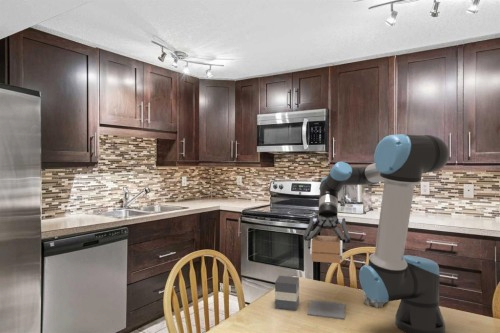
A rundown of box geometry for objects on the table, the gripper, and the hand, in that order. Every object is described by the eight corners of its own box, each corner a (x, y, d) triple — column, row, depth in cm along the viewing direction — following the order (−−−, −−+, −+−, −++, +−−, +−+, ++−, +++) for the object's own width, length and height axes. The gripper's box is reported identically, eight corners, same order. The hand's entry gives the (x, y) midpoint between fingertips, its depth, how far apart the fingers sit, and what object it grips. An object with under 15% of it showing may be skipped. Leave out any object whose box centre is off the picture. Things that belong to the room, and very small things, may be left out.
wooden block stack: (340, 256, 135) (340, 236, 135) (340, 263, 125) (339, 242, 125) (314, 254, 138) (314, 235, 138) (311, 261, 128) (311, 240, 128)
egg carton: (380, 310, 132) (380, 299, 132) (361, 304, 137) (361, 294, 137) (390, 301, 140) (390, 291, 140) (372, 296, 145) (372, 286, 145)
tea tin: (299, 302, 139) (299, 277, 139) (296, 310, 131) (296, 284, 131) (279, 300, 141) (279, 275, 141) (274, 308, 133) (274, 282, 133)
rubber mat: (345, 304, 136) (345, 303, 136) (344, 319, 124) (344, 318, 124) (311, 301, 140) (311, 300, 140) (307, 315, 127) (307, 313, 127)
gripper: (356, 215, 143) (358, 264, 128) (301, 213, 149) (296, 260, 134) (357, 203, 138) (358, 253, 123) (299, 202, 144) (294, 249, 129)
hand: (326, 256), depth 128 cm, fingers closed on wooden block stack, 10 cm apart
